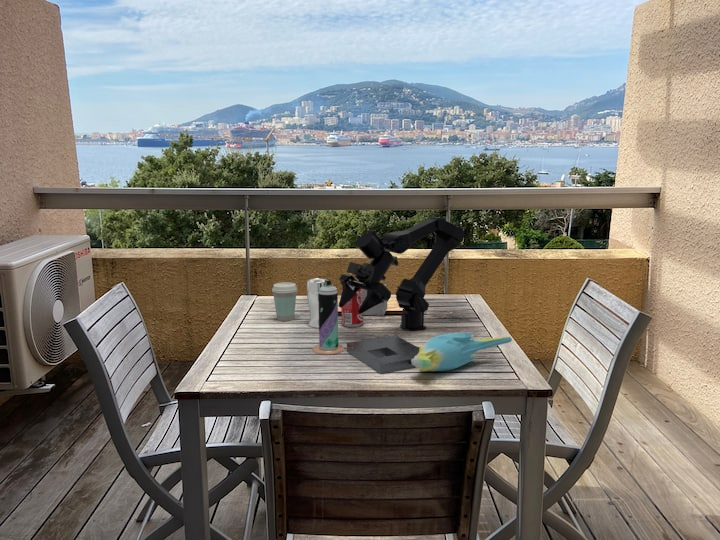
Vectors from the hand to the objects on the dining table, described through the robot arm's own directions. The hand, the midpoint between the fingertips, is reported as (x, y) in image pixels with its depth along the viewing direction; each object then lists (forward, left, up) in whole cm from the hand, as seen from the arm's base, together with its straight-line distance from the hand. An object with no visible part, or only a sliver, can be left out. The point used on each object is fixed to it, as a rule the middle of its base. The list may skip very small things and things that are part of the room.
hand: (349, 310), depth 180 cm
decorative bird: (-15, +34, -11) cm, 39 cm away
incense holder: (-21, -26, -11) cm, 36 cm away
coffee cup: (+8, -34, -11) cm, 37 cm away
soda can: (-9, -17, -11) cm, 22 cm away
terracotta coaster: (+8, +2, -10) cm, 13 cm away
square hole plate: (-4, +16, -10) cm, 19 cm away
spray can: (+7, +2, -10) cm, 13 cm away
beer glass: (+1, -22, -11) cm, 25 cm away
